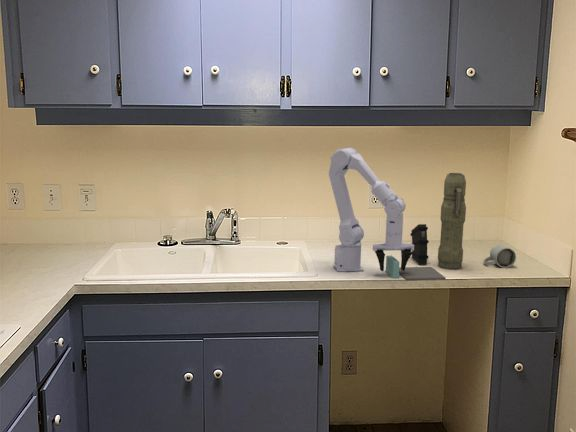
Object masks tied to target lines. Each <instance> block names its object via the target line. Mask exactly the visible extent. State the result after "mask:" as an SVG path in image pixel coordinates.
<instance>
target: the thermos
mask: <svg viewBox="0 0 576 432" xmlns="http://www.w3.org/2000/svg"><path fill="white" fill-rule="evenodd" d="M443 182H444V185H443V198H442V199H443V201H442V203H441V206H440V218H439V219H440V222H441V226H440V240H439V242H440V243H439V246H438V249H437V250H438V252H437V261H438V262H437V267H439V268H440V269H444V270H451V271H452V270H453V271H455V270H461V269H462V267H463V265H462V264H463V263H462V262H463V259H464V249H463V237H464V224H465V222H466V213H467V205H466V201H465V200H466V199H465V196H466V188H467V179H466V177H465V174H463V173H460V172H449V173H447V174H446V177H445V179H444V181H443Z"/></svg>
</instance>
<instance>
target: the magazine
mask: <svg viewBox="0 0 576 432" xmlns="http://www.w3.org/2000/svg"><path fill="white" fill-rule="evenodd" d="M428 230H429V227H428V226H427V224H425V223H420V224H419V223H418V224H417V225H416V226H415V227H414V228H413V229H411V233H410V237H411V244H413V245H414V250H411V251H412V255H411V258H412V259H413V261H415V263H417V264H418V265H419V266H427V264H428V263H427V262H428V259H429V255H428V244H429V240H428Z"/></svg>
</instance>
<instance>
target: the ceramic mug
mask: <svg viewBox="0 0 576 432" xmlns="http://www.w3.org/2000/svg"><path fill="white" fill-rule="evenodd" d="M516 260H517V254H516V252H515V250H513V249H512V248H510V247H507V246H505V245H496V246H495V245H494V246H493V247H492V248H491V250H489V256H487V257H485V258H484V259H483V261H482V262H483V264H484V266H485V267H487V266H488V267H489V266H494V265H496V266H498V267H500V268H503V269H508V268H510V267H513V265H514V264H516V263H515V262H516Z"/></svg>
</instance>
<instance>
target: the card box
mask: <svg viewBox="0 0 576 432" xmlns="http://www.w3.org/2000/svg"><path fill="white" fill-rule="evenodd" d="M385 259H386V260H385V272H386V273H387V275H389V276H390V277H391V279H396V280H397V279H399V278H400V274H399V267H400V261H399V260H398V259H397V258H396V257H394V256H393V255H392V254H391V255H385Z"/></svg>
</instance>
